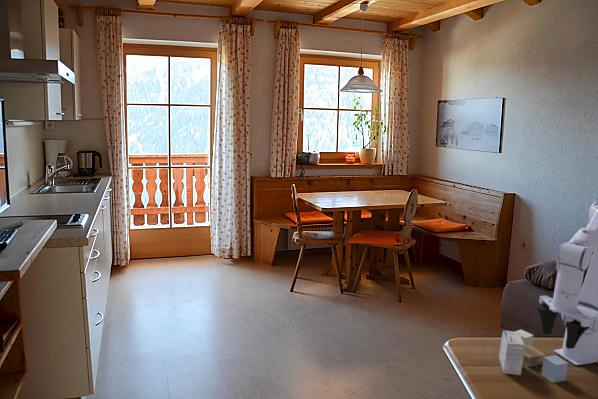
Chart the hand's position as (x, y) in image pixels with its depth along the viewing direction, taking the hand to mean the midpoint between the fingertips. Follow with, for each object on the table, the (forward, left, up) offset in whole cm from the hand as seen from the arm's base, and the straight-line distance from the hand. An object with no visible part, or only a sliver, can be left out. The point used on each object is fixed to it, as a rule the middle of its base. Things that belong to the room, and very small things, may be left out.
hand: (558, 340), depth 134 cm
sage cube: (-4, -16, -10) cm, 19 cm away
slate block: (0, 0, -10) cm, 10 cm away
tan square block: (0, -9, -11) cm, 14 cm away
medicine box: (+8, -7, -11) cm, 15 cm away
